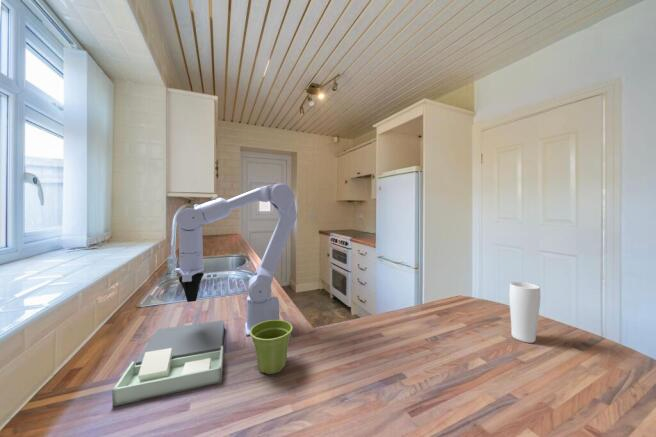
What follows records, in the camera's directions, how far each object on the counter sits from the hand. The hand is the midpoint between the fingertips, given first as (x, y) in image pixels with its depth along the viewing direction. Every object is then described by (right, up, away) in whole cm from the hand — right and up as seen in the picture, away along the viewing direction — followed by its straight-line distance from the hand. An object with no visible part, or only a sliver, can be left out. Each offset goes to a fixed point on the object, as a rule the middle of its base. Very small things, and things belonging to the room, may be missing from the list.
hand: (192, 300), depth 68 cm
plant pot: (+25, -11, -12) cm, 30 cm away
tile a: (+10, -9, -16) cm, 21 cm away
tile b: (+1, -9, -15) cm, 18 cm away
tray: (+6, -11, -17) cm, 21 cm away
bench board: (+1, -11, -5) cm, 12 cm away
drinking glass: (+92, -11, 0) cm, 93 cm away
